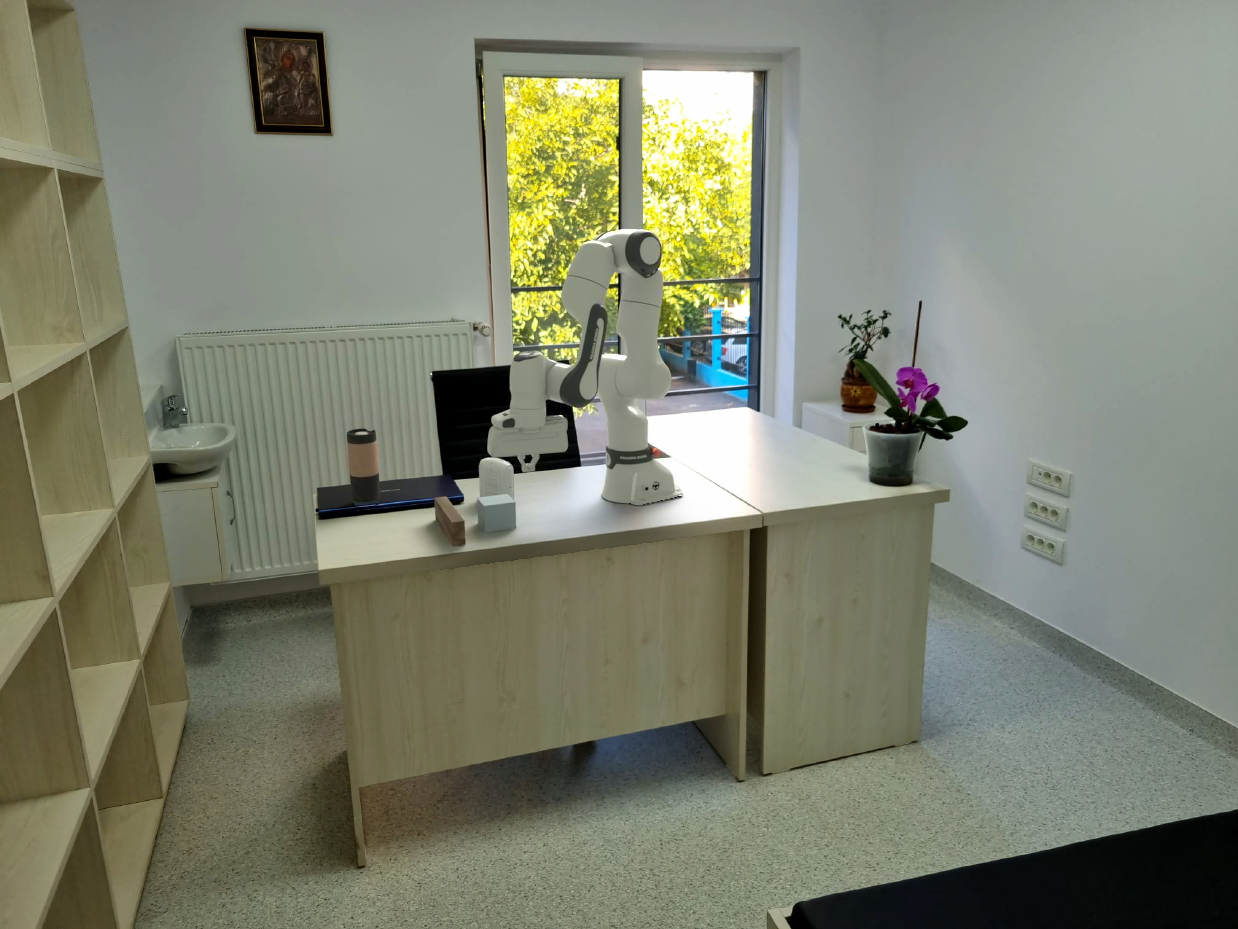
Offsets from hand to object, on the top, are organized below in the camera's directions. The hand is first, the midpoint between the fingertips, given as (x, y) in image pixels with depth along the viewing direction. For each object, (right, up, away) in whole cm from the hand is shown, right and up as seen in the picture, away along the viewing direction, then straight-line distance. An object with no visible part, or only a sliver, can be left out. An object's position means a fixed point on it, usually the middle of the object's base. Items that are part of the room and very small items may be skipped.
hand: (528, 471), depth 237 cm
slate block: (-8, -14, +1) cm, 16 cm away
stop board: (-19, -15, -4) cm, 25 cm away
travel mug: (-45, -9, +17) cm, 49 cm away
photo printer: (-10, -9, +19) cm, 23 cm away
